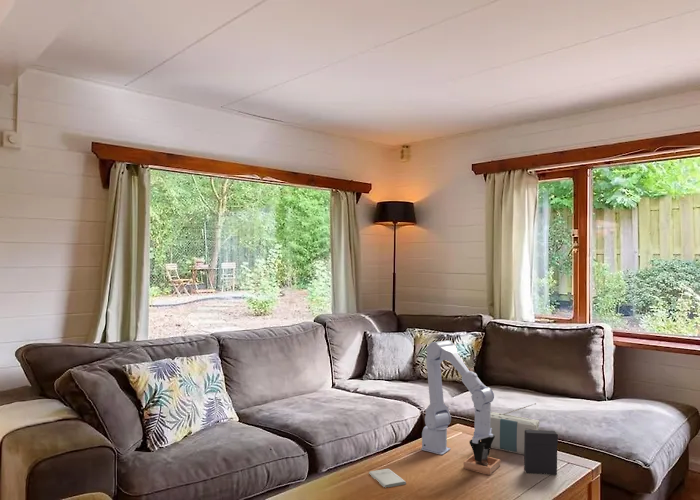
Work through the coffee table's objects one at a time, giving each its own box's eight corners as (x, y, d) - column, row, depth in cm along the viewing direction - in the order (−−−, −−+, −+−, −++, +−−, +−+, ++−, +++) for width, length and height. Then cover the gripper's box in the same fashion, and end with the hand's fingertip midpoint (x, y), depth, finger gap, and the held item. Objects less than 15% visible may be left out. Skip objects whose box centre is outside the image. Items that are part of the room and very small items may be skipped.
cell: (473, 466, 202) (474, 447, 202) (477, 462, 206) (477, 443, 206) (485, 469, 200) (485, 449, 200) (489, 465, 204) (489, 446, 204)
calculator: (554, 471, 200) (554, 430, 200) (557, 476, 196) (558, 434, 196) (523, 469, 202) (523, 428, 202) (526, 474, 197) (526, 432, 197)
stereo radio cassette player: (482, 447, 224) (483, 398, 224) (490, 442, 231) (490, 394, 231) (534, 459, 212) (535, 407, 212) (540, 453, 219) (541, 403, 219)
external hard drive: (384, 489, 184) (368, 475, 196) (406, 485, 187) (389, 472, 199) (384, 485, 184) (368, 471, 196) (406, 481, 187) (389, 467, 199)
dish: (463, 468, 202) (463, 461, 202) (474, 460, 210) (474, 453, 210) (490, 475, 196) (490, 468, 196) (500, 466, 204) (500, 459, 204)
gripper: (485, 427, 195) (485, 466, 195) (499, 418, 207) (499, 454, 207) (467, 424, 199) (466, 461, 199) (481, 414, 211) (481, 450, 211)
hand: (482, 457), depth 203 cm, fingers open, 7 cm apart
